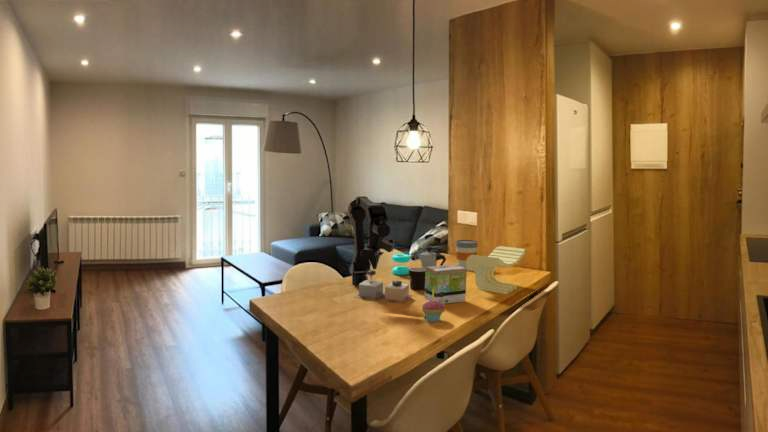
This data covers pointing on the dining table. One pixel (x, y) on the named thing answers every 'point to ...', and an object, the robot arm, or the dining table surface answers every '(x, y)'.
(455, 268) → the tea box
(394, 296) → the block
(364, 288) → the grey block
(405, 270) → the donuts
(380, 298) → the serving board
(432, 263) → the coffee maker
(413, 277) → the coffee mug
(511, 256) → the slatted curved stool
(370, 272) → the inner press plunger
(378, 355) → the dining table surface
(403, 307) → the dining table surface
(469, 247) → the reusable coffee cup
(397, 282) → the outer press plunger
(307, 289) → the dining table surface
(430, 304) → the cupcake
